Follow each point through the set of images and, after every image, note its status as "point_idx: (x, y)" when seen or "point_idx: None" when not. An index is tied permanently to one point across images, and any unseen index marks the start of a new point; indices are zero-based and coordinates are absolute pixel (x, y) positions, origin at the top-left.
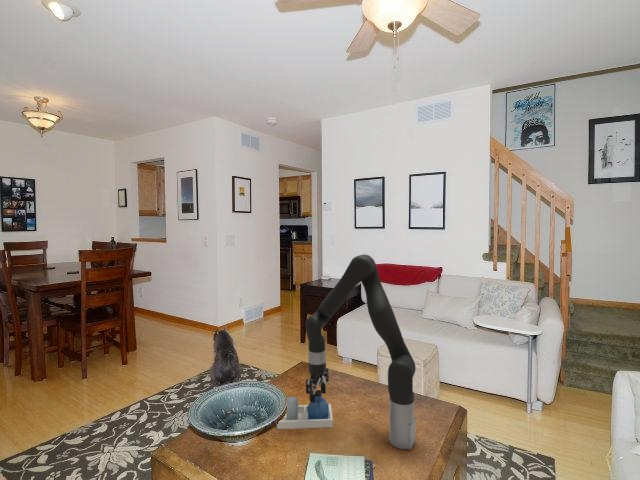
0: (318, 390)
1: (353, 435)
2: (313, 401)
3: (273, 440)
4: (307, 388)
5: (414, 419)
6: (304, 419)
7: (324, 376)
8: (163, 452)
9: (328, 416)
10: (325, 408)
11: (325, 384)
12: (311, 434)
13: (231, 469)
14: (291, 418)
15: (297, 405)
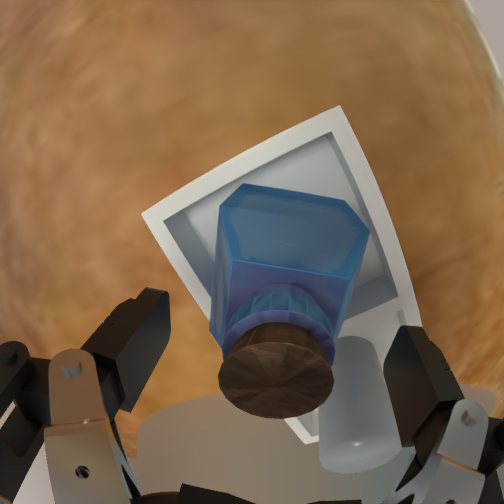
0: (233, 390)
1: None
2: (421, 338)
3: (472, 348)
4: (492, 501)
5: None
6: (399, 305)
7: (10, 431)
8: None
9: (227, 187)
10: (271, 207)
11: (91, 364)
12: (417, 220)
13: None
14: (381, 368)
15: (367, 405)
